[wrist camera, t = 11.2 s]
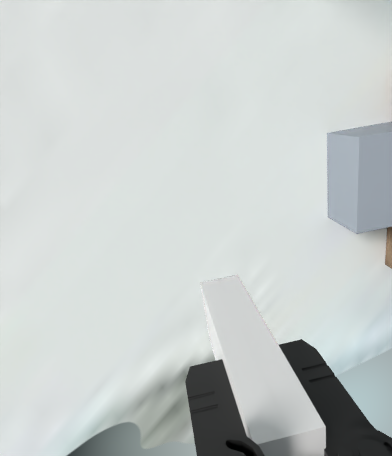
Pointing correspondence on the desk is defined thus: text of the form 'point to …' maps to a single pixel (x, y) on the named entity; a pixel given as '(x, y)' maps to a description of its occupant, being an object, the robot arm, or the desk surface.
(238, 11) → the desk surface
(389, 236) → the walnut stop board
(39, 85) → the desk surface
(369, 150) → the slate block
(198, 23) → the desk surface
